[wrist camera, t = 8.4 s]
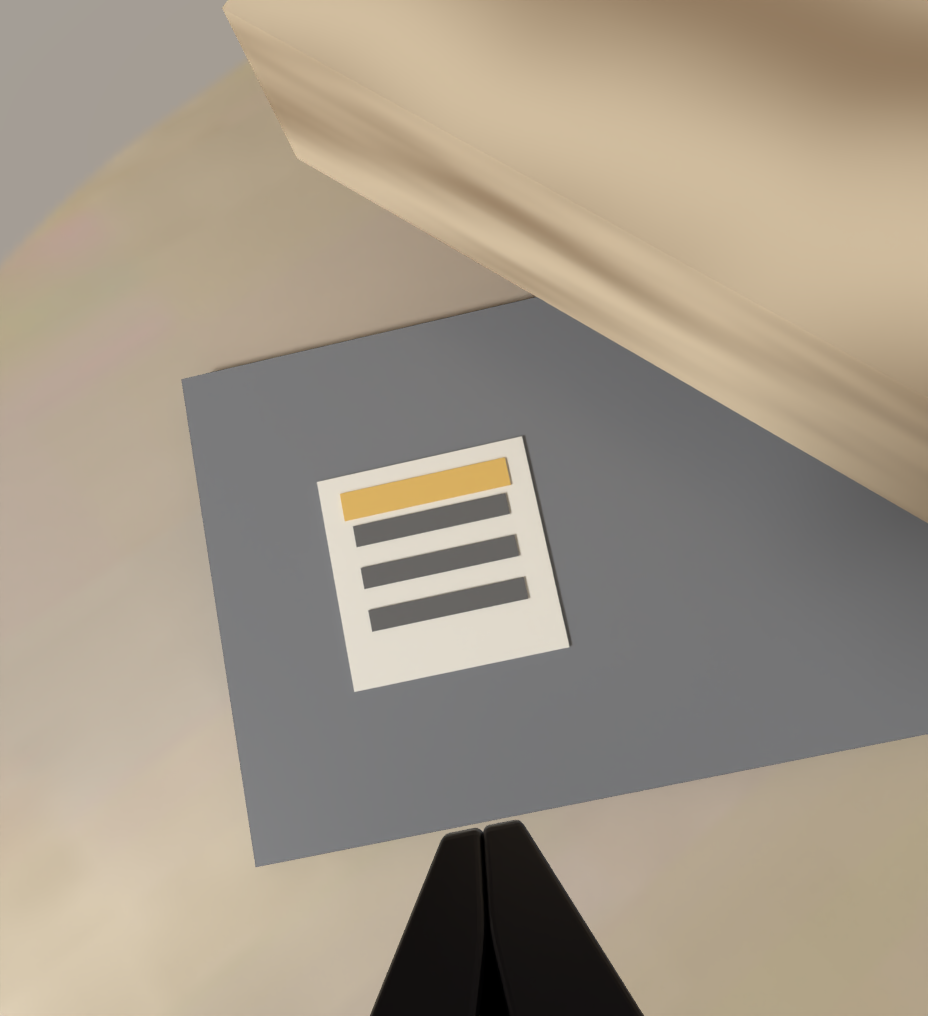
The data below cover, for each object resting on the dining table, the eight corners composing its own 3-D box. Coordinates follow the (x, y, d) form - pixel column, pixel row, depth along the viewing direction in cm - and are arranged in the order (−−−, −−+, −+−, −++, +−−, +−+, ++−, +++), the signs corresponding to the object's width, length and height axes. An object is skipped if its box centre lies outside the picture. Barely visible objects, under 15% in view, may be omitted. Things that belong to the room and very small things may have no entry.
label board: (1221, 669, 22) (1252, 670, 21) (265, 859, 23) (253, 868, 22) (1047, 189, 24) (1068, 171, 23) (192, 387, 25) (179, 377, 24)
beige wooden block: (970, 612, 21) (1343, 589, 12) (336, 236, 25) (201, -34, 15) (1136, 331, 22) (1619, 82, 12) (499, 2, 26) (474, -404, 16)
